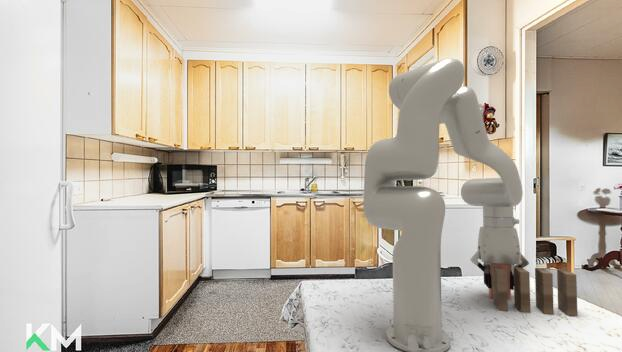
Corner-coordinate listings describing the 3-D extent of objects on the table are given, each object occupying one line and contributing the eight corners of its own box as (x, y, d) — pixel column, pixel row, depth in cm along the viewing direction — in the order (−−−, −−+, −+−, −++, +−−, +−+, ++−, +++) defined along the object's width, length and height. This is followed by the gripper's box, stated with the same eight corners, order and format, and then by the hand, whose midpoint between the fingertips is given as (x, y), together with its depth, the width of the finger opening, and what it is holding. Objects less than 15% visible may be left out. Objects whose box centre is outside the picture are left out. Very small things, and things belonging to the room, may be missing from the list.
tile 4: (507, 311, 84) (507, 271, 84) (499, 310, 84) (498, 270, 84) (501, 304, 89) (500, 266, 89) (493, 303, 89) (492, 266, 89)
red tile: (508, 297, 94) (507, 261, 94) (510, 299, 92) (510, 263, 92) (489, 295, 95) (488, 260, 96) (490, 298, 93) (490, 262, 94)
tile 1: (577, 316, 80) (576, 274, 80) (567, 315, 81) (566, 274, 81) (567, 309, 85) (566, 269, 85) (558, 308, 85) (557, 269, 86)
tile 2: (553, 314, 81) (552, 273, 82) (544, 314, 82) (543, 273, 82) (544, 307, 86) (543, 268, 86) (535, 306, 87) (535, 268, 87)
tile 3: (530, 313, 83) (529, 272, 83) (521, 312, 83) (520, 271, 83) (523, 305, 87) (522, 267, 88) (514, 305, 88) (513, 267, 88)
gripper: (526, 222, 96) (528, 285, 95) (462, 220, 100) (464, 282, 99) (537, 225, 88) (539, 294, 88) (468, 223, 93) (469, 289, 92)
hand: (499, 287), depth 94 cm, fingers closed on red tile, 4 cm apart
